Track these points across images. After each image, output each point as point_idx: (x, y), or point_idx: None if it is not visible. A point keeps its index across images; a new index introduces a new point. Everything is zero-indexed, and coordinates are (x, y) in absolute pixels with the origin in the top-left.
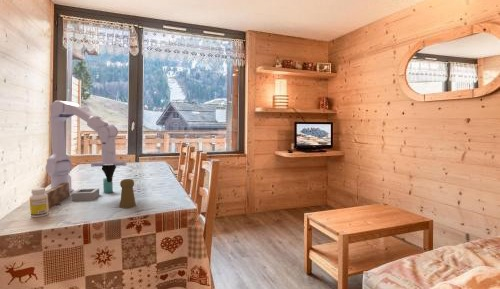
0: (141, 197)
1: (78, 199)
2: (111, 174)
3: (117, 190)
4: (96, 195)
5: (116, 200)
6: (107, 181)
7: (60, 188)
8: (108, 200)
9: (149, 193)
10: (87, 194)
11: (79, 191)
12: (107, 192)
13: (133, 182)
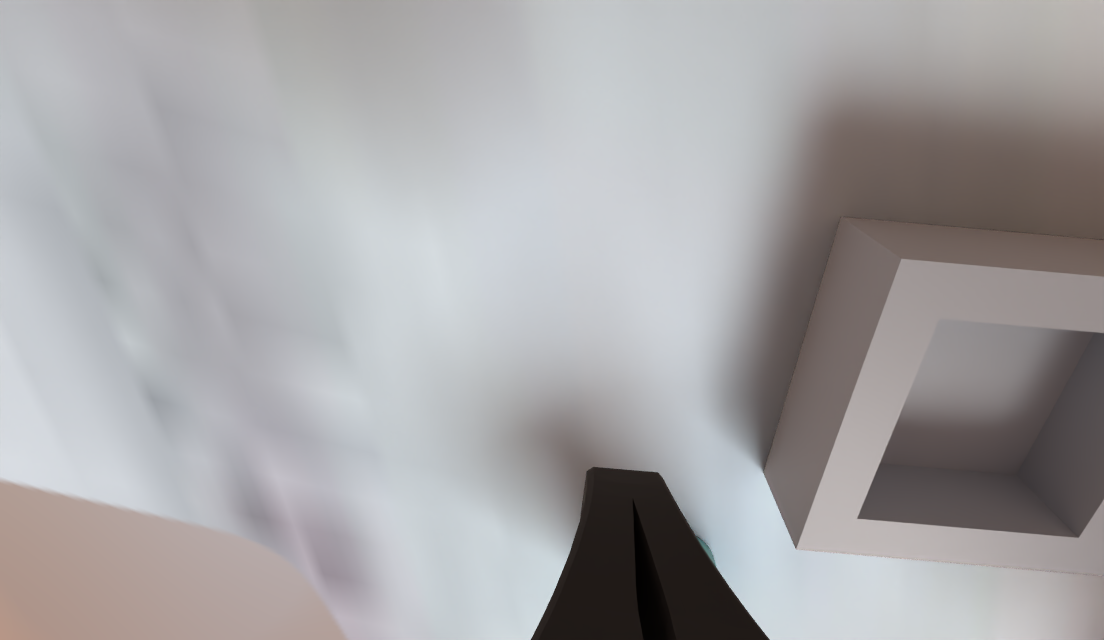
0: (78, 140)
1: (1080, 241)
2: (553, 614)
3: None
4: (807, 372)
5: (456, 36)
6: (666, 486)
7: None
8: (596, 80)
9: (58, 367)
10: (988, 255)
11: (1101, 470)
12: None
13: None
